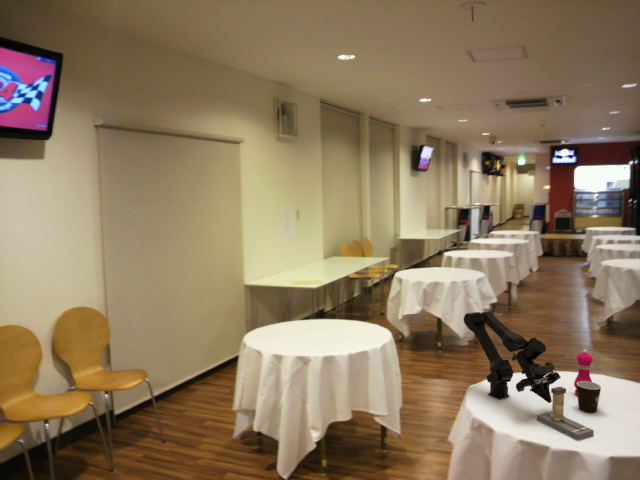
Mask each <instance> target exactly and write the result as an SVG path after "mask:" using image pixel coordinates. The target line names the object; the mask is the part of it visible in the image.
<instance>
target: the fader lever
mask: <svg viewBox="0 0 640 480" xmlns="http://www.w3.org/2000/svg"><path fill="white" fill-rule="evenodd" d="M566 392H567V388H564V387H562V386H556V387H552V388H551V389H550V394H552V402H551V403H552V406H551V407H552V408H551V411H552V415H551V416H550V418H552V419H554V420H556V421H559V420H563V419H565V417H566V416H565V415H564V410H565V408H564V405H565V394H567V393H566Z"/></svg>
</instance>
